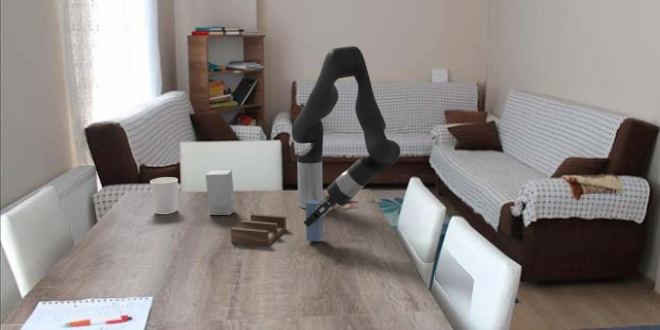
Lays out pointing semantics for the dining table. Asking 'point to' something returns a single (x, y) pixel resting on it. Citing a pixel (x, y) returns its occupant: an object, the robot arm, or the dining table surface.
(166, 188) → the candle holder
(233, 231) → the rack
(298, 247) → the dining table surface
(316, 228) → the block
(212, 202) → the skincare box
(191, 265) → the dining table surface
